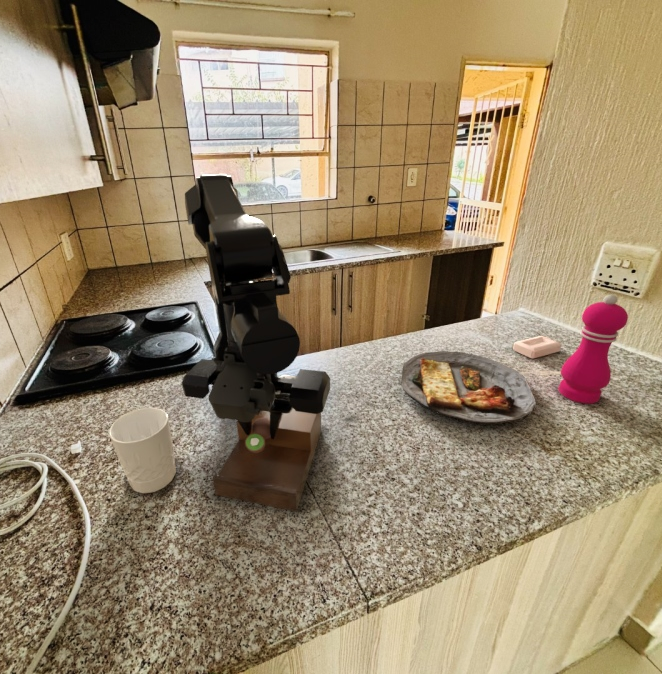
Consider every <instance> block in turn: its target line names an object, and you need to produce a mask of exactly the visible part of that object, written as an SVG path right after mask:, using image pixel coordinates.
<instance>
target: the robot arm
mask: <svg viewBox="0 0 662 674" xmlns="http://www.w3.org/2000/svg"><path fill="white" fill-rule="evenodd" d="M184 205H185V213H186V218H187V223H188V226H189V225H192V229H193V235H194V237H195V238H196V240H197V241H198V242H199V243H200V245H201V246H202V247H203V248H204V250H205V252H206V259H207V264H208V270H209V277H210V283H211V289H212V295H213V300H214V307H215V313H216V319H217V324H218V331H219V332H218V334H217V337H216V339H215V342H214V344H213V353H214V357H211V359H207V358H205V359H204V358H201V359H200V360H199V361H198V362H197V363H196V364H195V365H193V367H192V368H191V369H190V370H189V371H187V373H186V374H185V375H184V376H183V377H182V382H181V387H182V391H183V394H184V396H185V397H188V398H194V399H195V398H196V399H204V398H205V397H207V399H208V402H209V403H210V406H211V407H212V410H213V412H214V414H215V416H216V418H218V419H221V420H231V421H236V422H237V421H238V422H239V424H240V426H241V427H242V429H243V430H244V432H245V434H246V435H250V433H251V430H252V420H253V419H254V417H255V415H259V414H260V412H261V411H268V412H270V435H271V439H274V438H275V436H276V433H277V430H278V427H279V424H280V421H281V418H282V415H283V413H285V414H287V413H290V412H291V411H292V409H295V410H296V411H298V412H306V413H313V414H319V413H321V414H322V413H323V412H324V410H325V406H326V403H327V400H328V397H329V394H330V391H331V377H330V376H329V374H328V373H327V372H326V371H323V370H313V369H305V368H303V369H302V368H300V369H299V370H298V372H297V375H292V374H291V375H289V374H282V375H280V376H278V373H280V372H282V371H284V370H286V369H287V368H289V367H290V366H292V364H293V363H294V361H295V360H296V358H297V357H298V354H299V352H300V346H301V339H300V337H299V334H298V332H297V330H296V328H295V327H294V326H293V325H292V324H291V322H290V321H289V320H288V318H287V317H285V315H284V314H283V313H282V312H281V311H280V309H279V307H278V302H277V297H279V296H286V295H290V294H291V289H290V285H289V283H290V281H291V278H292V276H291V273H290V269H289V267H288V266H289V265H288V262H287V261H286V257H285V254H284V251H283V247H282V245H281V244H280V243H279V240H278V237H277V236H276V234H274V235H273V233H272V231H271V229H270V228H269V226H268V225H267V224H266V223H265V222H264V221H263V220H262V219H260V218H257V217H253V216H249V215H248V214H247V212H246V211H245V208H244V206H243V205H242V202H241V201H240V199H239V193H238V189H237V188H236V187H235V186H234V181H233V177H232V176H231V175H227V174H226V173H219V174H201V175H200V176H197V177H195V184H194V185H193V186H192V187H191V188H189V189H188V190H187V191H185V193H184ZM273 276H274V278H273V279H271V278H272V277H273ZM262 279H263V280H262ZM264 279H265V280H264ZM256 280H258V281H256ZM210 385H211V390H210Z"/></svg>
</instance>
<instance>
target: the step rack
mask: <svg viewBox="0 0 662 674" xmlns="http://www.w3.org/2000/svg"><path fill="white" fill-rule="evenodd" d="M258 418H267V419H269V420H270V412H268V411H261V412H260V414H259V415H255V417H254V419H253V420H252V425H253V422H254V421H255V420H256V419H258ZM236 428H237V437H238V440H237V442H236V444H235V445H234V446H233V448H232V450H231V451H230V453H229V455H228V457H227V458H226V460H225V462H224V464H223V465H222V467H221V469H220V470H219V472H218V474H214V475H213V477H212V481H213V487H214V488H213V489H214V492H215V495H216V496H220V497H225V498H230V499H234V500H239V501H244V502H249V503H254V504H258V505H264V506H268V507H273V508H278V509H283V510H286V511H287V510H288V511H292V512H297V511H298V510H299V509H298V508H299V505H300V501H301V498H302V495H303V492H304V489H305V485H306V482H307V479H308V476H309V472H310V469H311V466H312V462H313V458H314V455H315V453H316V449H317V445H318V442H319V440H320V436H321V433H322V412H321V413H319V414H313V413H306V412H298V411H296V410H295V409H292V411H291V412H290V413H287V414H285V413H283V415H282V418H281V421H280V424H279V427H278V430H277V433H276V436H275V438H274V439H271V437H270V438H268V439H265V447H264V449H263V450H262V451H261V452H258V453H254V452H251V451H249V450H248V449H247V447H246V446H245V440H246V438H247V437H248V436H249V435H246V434H245V432H244V430H243V429H242V427H241V426H240V424H239V422H238V421H237V420H236ZM253 433H254V432H253V430H251V433H250V434H253Z"/></svg>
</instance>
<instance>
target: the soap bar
mask: <svg viewBox="0 0 662 674" xmlns="http://www.w3.org/2000/svg"><path fill="white" fill-rule="evenodd" d="M562 345H563V344H562V343H561V342H560V341H556V340H555V339H552V338H549V337H547V336H545V335H538V336H534V337H530V338H527V339H522V340H518V341H515V342H514V343H513V347H512V350H513V351H514V352H516V353H519V354H521V355H523V356H525V357H526V358H529V359H537V358H541V357H544V356H547V355H551V354H554V353H555V354H556V353H559V352H561V349H562Z"/></svg>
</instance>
